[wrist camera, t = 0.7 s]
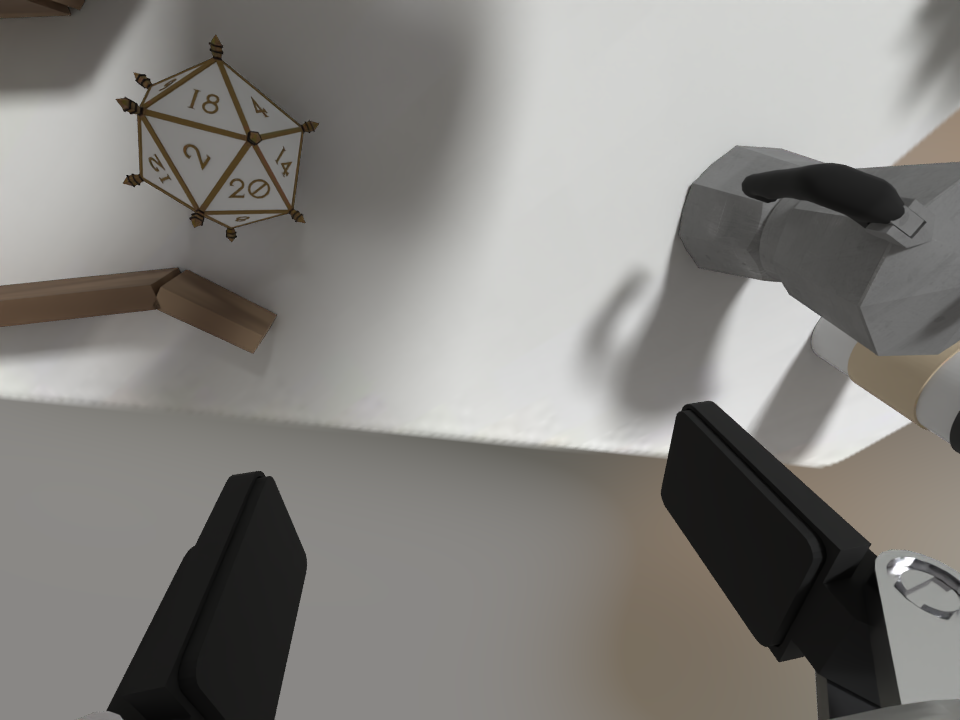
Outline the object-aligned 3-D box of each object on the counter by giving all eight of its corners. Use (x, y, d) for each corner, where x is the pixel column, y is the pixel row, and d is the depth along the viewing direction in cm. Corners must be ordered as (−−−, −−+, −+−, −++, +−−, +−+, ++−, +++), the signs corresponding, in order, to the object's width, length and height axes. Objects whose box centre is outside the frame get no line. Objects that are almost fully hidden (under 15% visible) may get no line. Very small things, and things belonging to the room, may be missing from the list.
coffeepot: (834, 189, 32) (1235, 248, 17) (751, 297, 36) (1018, 429, 20) (688, 81, 27) (1070, 22, 12) (608, 219, 31) (818, 317, 15)
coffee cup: (787, 325, 38) (987, 429, 25) (884, 257, 36) (1155, 331, 23) (815, 385, 42) (999, 501, 29) (903, 327, 40) (1142, 423, 27)
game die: (286, 124, 28) (364, 87, 21) (269, 253, 29) (339, 258, 22) (107, 44, 22) (136, -47, 15) (92, 213, 22) (112, 202, 16)
